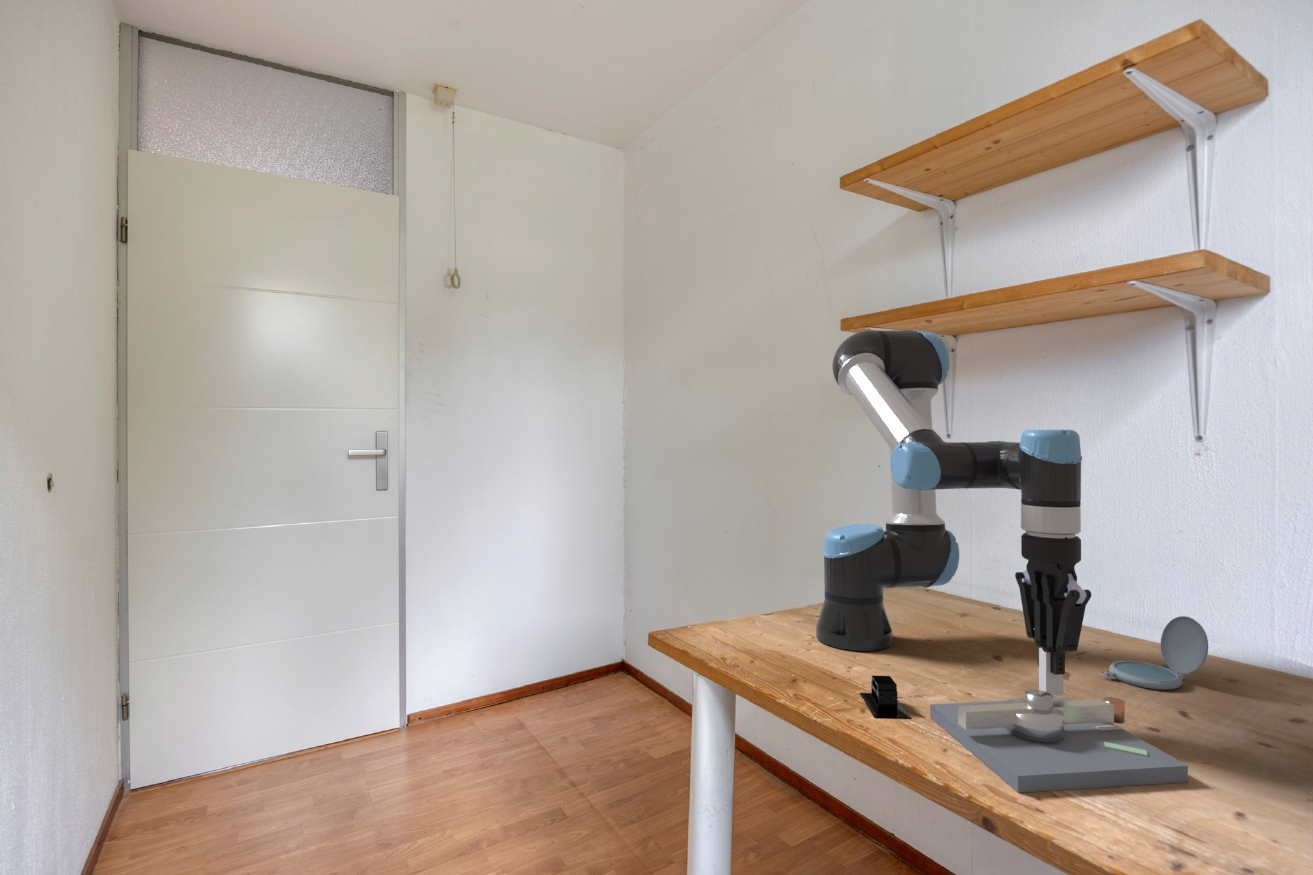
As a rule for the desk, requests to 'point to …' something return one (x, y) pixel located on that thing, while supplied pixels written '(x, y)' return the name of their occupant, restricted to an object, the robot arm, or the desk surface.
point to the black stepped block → (884, 699)
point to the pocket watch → (1167, 657)
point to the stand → (1064, 755)
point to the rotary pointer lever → (1040, 715)
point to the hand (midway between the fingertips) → (1051, 692)
